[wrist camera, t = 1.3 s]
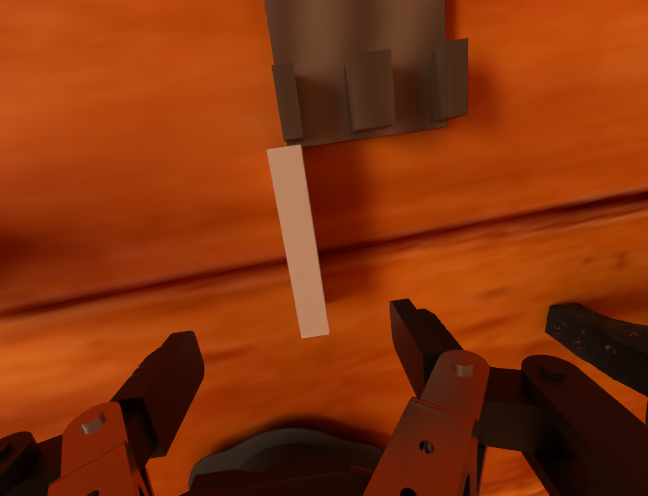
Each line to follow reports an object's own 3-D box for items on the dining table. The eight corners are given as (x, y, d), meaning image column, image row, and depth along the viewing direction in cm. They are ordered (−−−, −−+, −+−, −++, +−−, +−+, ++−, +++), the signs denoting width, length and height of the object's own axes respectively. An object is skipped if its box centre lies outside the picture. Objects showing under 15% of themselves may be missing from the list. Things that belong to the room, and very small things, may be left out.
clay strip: (302, 306, 32) (301, 338, 26) (275, 151, 28) (266, 149, 22) (325, 303, 32) (329, 334, 26) (302, 147, 28) (300, 144, 22)
